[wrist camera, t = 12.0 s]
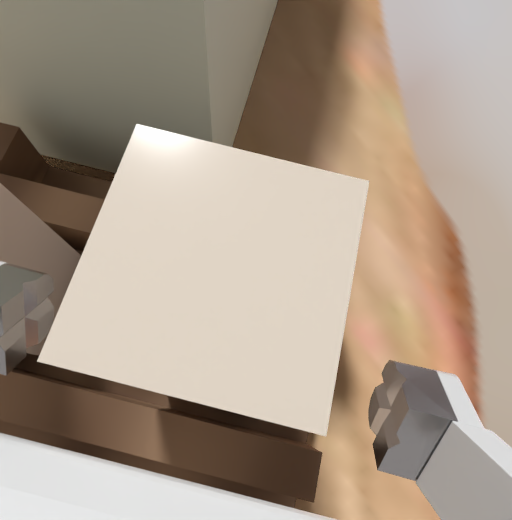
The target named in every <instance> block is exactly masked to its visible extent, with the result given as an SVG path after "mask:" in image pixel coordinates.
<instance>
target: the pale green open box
mask: <svg viewBox="0 0 512 520" xmlns="http://www.w3.org/2000/svg"><path fill="white" fill-rule="evenodd" d="M277 2H278V0H0V122H1V123H5V124H9V125H13V126H17V127H20V129H21V130H22V131H23V133H24V134H25V135H26V137H27V138H28V139H29V140H30V142H31V143H32V144H33V146H34V147H35V148H36V150H37V151H38V152H39V154H40V155H44V156H48V157H52V158H56V159H60V160H64V161H68V162H72V163H76V164H80V165H84V166H88V167H92V168H96V169H100V170H104V171H108V172H112V173H116V172H117V170H118V167H119V165H120V162H121V160H122V158H123V155H124V153H125V151H126V148H127V146H128V143H129V141H130V139H131V136H132V134H133V131H134V129H135V127H136V124H140V125H144V126H148V127H152V128H156V129H160V130H164V131H168V132H172V133H176V134H180V135H184V136H188V137H192V138H196V139H201V140H205V141H209V142H213V143H217V144H221V145H225V146H229V147H232V146H233V143H234V139H235V136H236V133H237V130H238V127H239V123H240V120H241V117H242V114H243V111H244V108H245V104H246V101H247V98H248V95H249V92H250V88H251V85H252V82H253V79H254V76H255V72H256V69H257V66H258V63H259V60H260V56H261V53H262V50H263V47H264V44H265V40H266V37H267V34H268V31H269V28H270V25H271V21H272V18H273V15H274V12H275V9H276V5H277Z"/></svg>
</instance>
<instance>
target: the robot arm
mask: <svg viewBox="0 0 512 520" xmlns="http://www.w3.org/2000/svg"><path fill="white" fill-rule="evenodd" d="M53 291H54V283H53V278H52V277H51V276H50V275H49V274H47V273H43V272H39V271H36V270H32V269H28V268H25V267H21V266H17V265H14V264H8V263H6V262H2V261H0V374H2V375H6V376H7V375H8V374H9V373H10V372H11V371H12V370H13V369H14V368H15V367H16V366H17V365H18V364H19V363H20V362H21V361H22V360H23V359H24V358H25V357H26V348H28V347H31V346H34V345H37V344H39V343H40V342H41V341H42V340H43V339H44V338H45V337H46V335H47V333H48V331H49V329H50V327H51V326H52V322H53V317H54V306H53V305H52V303H51V302H50V300H49V298H48V296H49V295H50V294H51V293H52V292H53ZM382 376H383V381H384V383H382V384H380V385H379V386H377V387H375V389H374V392H373V394H372V397H371V400H370V405H369V425H370V429H371V430H372V431H373V432H374V433H375V435H376V438H375V441H374V443H373V448H374V454H375V459H376V465H377V470H379V471H382V472H386V473H389V474H393V475H396V476H400V477H403V478H407V479H410V480H414V481H416V484H417V486H418V487H419V488H420V490H421V491H422V493H423V494H424V496H425V497H426V499H427V500H428V501H429V503H430V504H431V506H432V507H433V509H434V510H435V511H436V513H437V514H438V516H439V517H440V519H441V520H512V448H511V447H510V446H509V445H508V444H506V443H505V442H504V441H503V440H502V439H501V438H499V437H498V436H497V435H496V434H495V433H494V432H493V431H491V430H487V429H484V427H483V425H482V423H481V421H480V419H479V417H478V415H477V413H476V411H475V409H474V407H473V405H472V403H471V401H470V399H469V397H468V395H467V393H466V391H465V389H464V387H463V385H462V383H461V381H460V379H459V378H458V377H457V376H456V375H455V374H451V373H446V372H442V371H437V370H431V369H426V368H422V367H418V366H413V365H409V364H405V363H401V362H396V361H392V360H389V361H388V363H387V364H386V365H385V367H384V369H383V372H382ZM0 520H338V519H334V518H330V517H326V516H322V515H318V514H314V513H311V512H307V511H303V510H299V509H295V508H291V507H287V506H284V505H280V504H276V503H272V502H268V501H264V500H260V499H257V498H253V497H249V496H245V495H241V494H237V493H233V492H230V491H226V490H222V489H218V488H214V487H210V486H206V485H202V484H199V483H195V482H191V481H187V480H183V479H179V478H175V477H171V476H167V475H163V474H160V473H156V472H152V471H148V470H144V469H140V468H136V467H132V466H128V465H124V464H121V463H117V462H113V461H109V460H105V459H101V458H97V457H93V456H89V455H85V454H82V453H78V452H74V451H70V450H66V449H62V448H58V447H54V446H50V445H47V444H43V443H39V442H35V441H31V440H27V439H23V438H19V437H15V436H12V435H8V434H4V433H0Z"/></svg>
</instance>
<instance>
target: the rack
mask: <svg viewBox="0 0 512 520" xmlns="http://www.w3.org/2000/svg"><path fill="white" fill-rule="evenodd" d="M0 183H1V184H2V185H3V186H4V187H5V188H6V189H8V190H9V191H10V192H11V193H12V194H13V195H14V196H15V197H17V198H18V199H19V200H20V201H21V202H22V203H23V204H24V205H25V206H27V207H28V208H29V209H30V210H31V211H32V212H33V213H34V214H35V215H37V216H38V217H39V218H40V219H41V220H42V221H43V222H44V223H45V224H47V225H48V226H49V227H50V228H51V229H52V230H53V231H54V232H56V233H57V234H58V235H59V236H60V237H61V238H62V239H63V240H64V241H66V242H67V243H68V244H69V245H70V246H71V247H72V248H73V249H74V250H76V251H77V252H78V253H79V254H80V255H82V253H83V251H84V248H85V246H86V243H87V241H88V239H89V236H90V234H91V232H92V229H93V227H94V224H95V222H96V220H97V217H98V215H99V212H100V210H101V208H102V205H103V203H104V201H105V198H106V196H107V193H108V191H109V189H110V186H111V184H112V182H110V181H106V180H102V179H98V178H94V177H90V176H86V175H82V174H78V173H74V172H70V171H66V170H62V169H58V168H54V167H50V166H49V165H48V164H47V163H46V161H45V160H44V159H43V157H42V156H41V155H40V154H39V152H38V151H37V150H36V148H35V147H34V146H33V144H32V143H31V142H30V140H29V139H28V138H27V137H26V135H25V134H24V133H23V131H22V130H21V129H20V127H17V126H13V125H9V124H5V123H1V122H0ZM38 358H39V356H38V355H33V354H29V353H26V357H25V358H24V359H23V360H22V361H21V362H20V363H19V364H18V365H17V366H16V367H15V368H14V369H13V370H12V371H11V372H10V373H9V374H8V375H7V376H6V375H2V374H0V433H4V434H8V435H12V436H15V437H19V438H23V439H27V440H31V441H35V442H39V443H43V444H47V445H50V446H54V447H58V448H62V449H66V450H70V451H74V452H78V453H82V454H85V455H89V456H93V457H97V458H101V459H105V460H109V461H113V462H117V463H121V464H124V465H128V466H132V467H136V468H140V469H144V470H148V471H152V472H156V473H160V474H163V475H167V476H171V477H175V478H179V479H183V480H187V481H191V482H195V483H199V484H202V485H206V486H210V487H214V488H218V489H222V490H226V491H230V492H233V493H237V494H241V495H245V496H249V497H253V498H257V499H260V500H264V501H268V502H272V503H276V504H280V505H284V506H287V507H291V508H294V507H295V502H296V498H299V499H302V500H306V501H310V502H314V499H315V493H316V487H317V481H318V475H319V469H320V463H321V457H322V452H320V451H318V450H316V449H315V448H313V447H311V446H309V445H307V444H306V442H307V436H308V432H307V431H303V430H299V429H295V428H291V427H288V426H284V425H280V424H276V423H272V422H268V421H264V420H261V419H257V418H253V417H249V416H245V415H241V414H237V413H234V412H230V411H226V410H222V409H218V408H214V407H211V406H207V405H203V404H199V403H195V402H191V401H187V400H184V399H180V398H176V397H172V396H168V395H164V394H160V393H157V392H153V391H149V390H145V389H141V388H137V387H134V386H130V385H126V384H122V383H118V382H114V381H110V380H107V379H103V378H99V377H95V376H91V375H87V374H84V373H80V372H76V371H72V370H68V369H64V368H60V367H57V366H53V365H49V364H45V363H41V362H37V360H38Z"/></svg>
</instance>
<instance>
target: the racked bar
mask: <svg viewBox="0 0 512 520" xmlns="http://www.w3.org/2000/svg"><path fill="white" fill-rule="evenodd" d="M80 258H81V255H80V254H79V253H78V252H77V251H76V250H74V249H73V248H72V247H71V246H70V245H69V244H68V243H67V242H66V241H64V240H63V239H62V238H61V237H60V236H59V235H58V234H57V233H56V232H54V231H53V230H52V229H51V228H50V227H49V226H48V225H47V224H45V223H44V222H43V221H42V220H41V219H40V218H39V217H38V216H37V215H35V214H34V213H33V212H32V211H31V210H30V209H29V208H28V207H27V206H25V205H24V204H23V203H22V202H21V201H20V200H19V199H18V198H17V197H15V196H14V195H13V194H12V193H11V192H10V191H9V190H8V189H6V188H5V187H4V186H3V185H2V184H1V183H0V261H2V262H6V263H8V264H14V265H17V266H21V267H25V268H28V269H32V270H36V271H39V272H43V273H47V274H49V275H50V276H51V277H52V278H53V283H54V291H53V292H52V293H51V294H50V295H49V296H48V298H49V300H50V302H51V303H52V305H53V306H54V317H53V322H54V320H55V317H56V315H57V313H58V310H59V308H60V305H61V303H62V301H63V298H64V296H65V293H66V291H67V289H68V286H69V284H70V282H71V279H72V277H73V274H74V272H75V270H76V267H77V265H78V262H79V260H80ZM53 322H52V324H53ZM51 327H52V326H51ZM51 327H50V329H51ZM50 329H49V331H48V333H47V335H46V337H45V338H44V339H43V340H42V341H41V342H40V343H39V344H37V345H34V346H31V347H28V348H26V353H29V354H33V355H38V356H39V355H40V353H41V351H42V348H43V346H44V343H45V341H46V339H47V336H48V334H49V332H50Z"/></svg>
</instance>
